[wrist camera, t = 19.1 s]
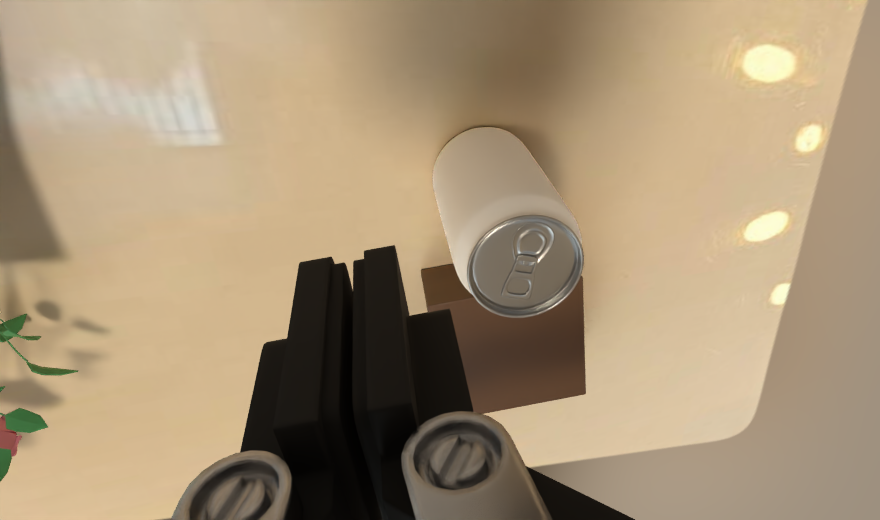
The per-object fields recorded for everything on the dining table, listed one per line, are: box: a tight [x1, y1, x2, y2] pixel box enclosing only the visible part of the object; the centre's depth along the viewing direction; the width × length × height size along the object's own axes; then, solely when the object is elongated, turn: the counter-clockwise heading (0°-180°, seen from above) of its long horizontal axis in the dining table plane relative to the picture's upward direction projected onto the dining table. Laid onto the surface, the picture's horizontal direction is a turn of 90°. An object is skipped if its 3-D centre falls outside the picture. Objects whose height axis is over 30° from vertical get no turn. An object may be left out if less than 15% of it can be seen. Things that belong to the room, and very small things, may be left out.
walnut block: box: [421, 264, 586, 414], centre depth 43 cm, size 10×10×4 cm
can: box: [433, 127, 584, 318], centre depth 34 cm, size 6×6×12 cm
